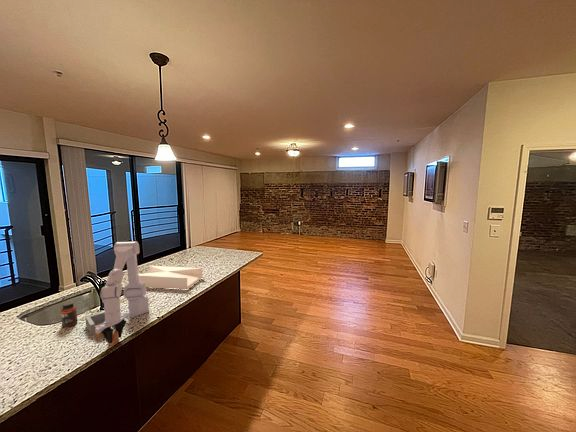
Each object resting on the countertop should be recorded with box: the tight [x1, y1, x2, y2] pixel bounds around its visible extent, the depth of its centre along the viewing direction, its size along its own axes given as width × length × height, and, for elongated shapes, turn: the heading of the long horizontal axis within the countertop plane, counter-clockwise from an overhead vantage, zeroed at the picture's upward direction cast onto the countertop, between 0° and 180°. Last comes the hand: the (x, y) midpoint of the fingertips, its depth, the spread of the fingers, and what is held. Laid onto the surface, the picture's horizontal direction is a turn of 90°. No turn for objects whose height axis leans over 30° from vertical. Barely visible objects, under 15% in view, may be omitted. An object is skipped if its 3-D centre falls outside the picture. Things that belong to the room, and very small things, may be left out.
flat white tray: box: [138, 265, 204, 289], centre depth 184 cm, size 45×22×10 cm, turn 83°
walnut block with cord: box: [94, 322, 120, 346], centre depth 115 cm, size 5×16×5 cm, turn 56°
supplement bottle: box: [60, 301, 78, 328], centre depth 126 cm, size 6×6×11 cm
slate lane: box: [85, 310, 105, 336], centre depth 125 cm, size 12×12×5 cm
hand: (114, 339), depth 111 cm, fingers closed on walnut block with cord, 4 cm apart
